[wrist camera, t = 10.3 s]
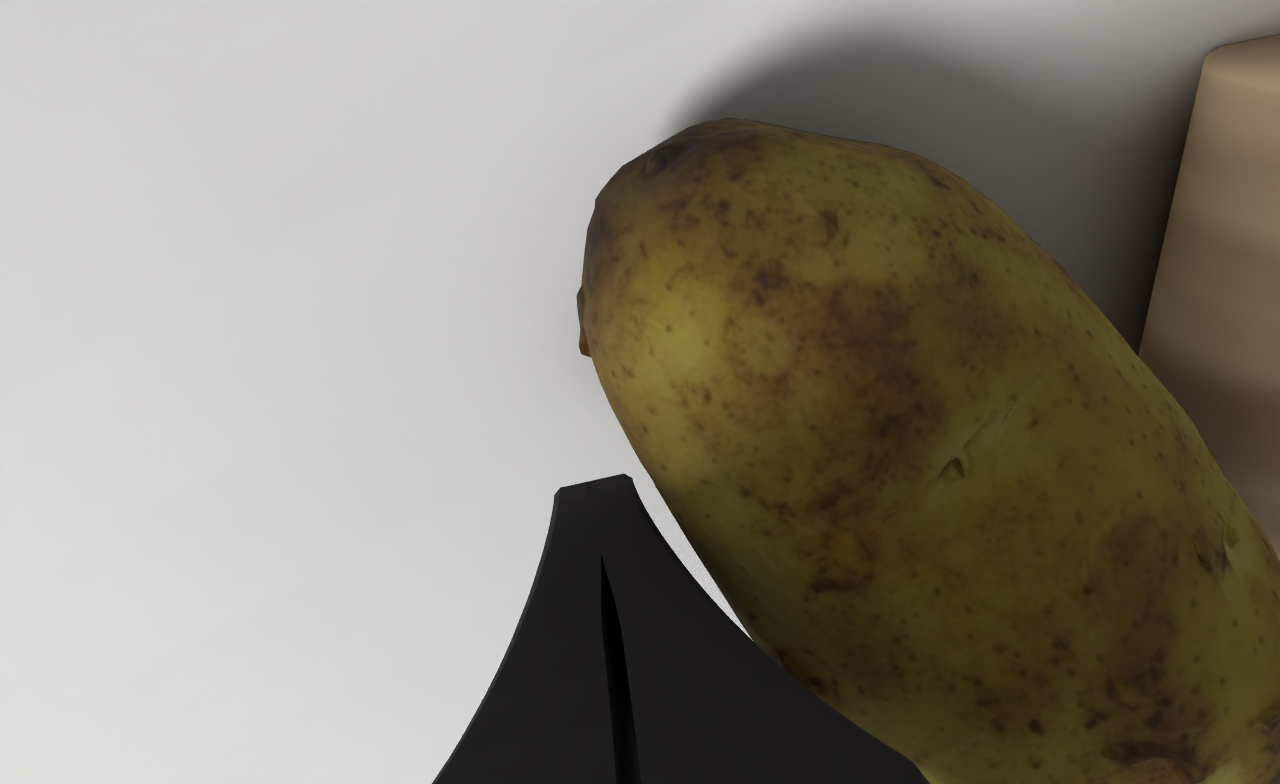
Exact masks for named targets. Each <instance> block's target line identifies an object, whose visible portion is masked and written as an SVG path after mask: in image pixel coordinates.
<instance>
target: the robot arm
mask: <svg viewBox="0 0 1280 784" xmlns="http://www.w3.org/2000/svg"><path fill="white" fill-rule="evenodd" d="M432 784H930V783H929V781H928V780H927V779H926V778H925V776H924V775H923V774H922V772H921V771H920V770H919V769H918V767H917V766H916V765H915V764H914V763H913V761H911V760H910V759H908V758H907V757H905V756H904V755H902V754H901V753H899V752H897V751H896V750H894V749H893V748H891V747H890V746H888V745H886V744H885V743H883V742H882V741H880V740H879V739H877V738H876V737H874V736H873V735H871V734H870V733H868V732H867V731H865V730H864V729H862V728H861V727H859V726H858V725H856V724H855V723H853V722H852V721H851V720H849V719H848V718H847V717H845V716H844V715H842V714H841V713H840V712H838V711H837V710H836V709H834V708H833V707H832V706H830V705H829V704H827V703H826V702H825V701H823V700H822V699H821V698H819V697H818V696H817V695H816V694H814V693H813V692H812V691H811V690H810V689H808V688H807V687H806V686H805V685H803V684H802V683H801V682H800V681H799V680H797V679H796V678H795V677H794V676H792V675H791V674H790V673H789V672H788V671H786V670H785V669H784V668H783V667H781V666H780V665H779V664H778V663H777V662H775V661H774V660H773V659H772V658H771V657H770V656H769V655H768V654H766V653H765V652H764V651H763V650H762V649H761V648H760V647H759V646H758V645H757V644H756V643H755V642H753V641H752V640H751V639H750V638H749V637H748V636H747V635H746V634H745V633H744V632H743V631H742V630H741V629H740V628H739V627H738V626H737V625H736V624H735V623H734V622H733V621H732V620H731V619H730V618H729V617H728V616H727V615H726V614H725V613H724V612H723V610H722V609H721V608H720V607H719V606H718V605H717V604H716V603H715V602H714V601H713V599H712V598H711V597H710V596H709V595H708V594H707V593H706V591H705V590H704V589H703V588H702V587H701V586H700V584H699V583H698V582H697V581H696V580H695V579H694V577H693V576H692V575H691V574H690V572H689V571H688V570H687V569H686V567H685V566H684V565H683V563H682V562H681V561H680V559H679V558H678V557H677V555H676V554H675V553H674V551H673V550H672V548H671V547H670V546H669V544H668V543H667V542H666V540H665V539H664V537H663V536H662V534H661V533H660V531H659V530H658V528H657V527H656V525H655V524H654V522H653V520H652V519H651V517H650V515H649V514H648V512H647V510H646V509H645V507H644V505H643V503H642V501H641V499H640V497H639V495H638V493H637V490H636V488H635V486H634V483H633V479H632V478H631V477H629V476H627V475H626V474H620V475H616V476H611V477H607V478H602V479H598V480H593V481H589V482H584V483H580V484H575V485H571V486H566V487H562V488H560V489H559V490H558V491H557V492H556V494H555V495H554V505H553V511H552V516H551V521H550V526H549V530H548V534H547V538H546V542H545V546H544V550H543V553H542V557H541V560H540V563H539V566H538V569H537V572H536V576H535V579H534V582H533V585H532V588H531V591H530V594H529V597H528V599H527V602H526V605H525V607H524V610H523V612H522V615H521V617H520V620H519V622H518V625H517V627H516V630H515V633H514V635H513V638H512V640H511V642H510V645H509V647H508V649H507V651H506V654H505V656H504V658H503V660H502V662H501V664H500V667H499V669H498V671H497V673H496V675H495V677H494V679H493V681H492V683H491V685H490V687H489V689H488V691H487V693H486V695H485V697H484V698H483V700H482V702H481V704H480V706H479V707H478V709H477V711H476V713H475V715H474V716H473V718H472V720H471V722H470V724H469V725H468V727H467V729H466V731H465V733H464V734H463V736H462V738H461V739H460V741H459V743H458V744H457V746H456V748H455V749H454V751H453V752H452V754H451V756H450V757H449V759H448V760H447V762H446V763H445V765H444V766H443V768H442V769H441V771H440V772H439V774H438V775H437V777H436V778H435V780H434V781H433V783H432Z"/></svg>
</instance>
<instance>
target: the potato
mask: <svg viewBox="0 0 1280 784" xmlns="http://www.w3.org/2000/svg"><path fill="white" fill-rule="evenodd" d="M577 307H578V315H579V323H580V328H581V330H580V341H579V348H580V351H581V354H582V355H585V356H588V357H592V360H593V363H594V366H595V368H596V371H597V374H598V377H599V380H600V383H601V385H602V387H603V389H604V392H605V394H606V396H607V398H608V401H609V403H610V405H611V407H612V409H613V411H614V413H615V415H616V417H617V419H618V421H619V423H620V425H621V426H622V428H623V430H624V432H625V434H626V436H627V438H628V440H629V442H630V444H631V446H632V448H633V449H634V451H635V453H636V455H637V456H638V458H639V460H640V462H641V463H642V465H643V466H644V468H645V469H646V471H647V472H648V474H649V475H650V477H651V478H652V480H653V482H654V484H655V486H656V488H657V489H658V491H659V493H660V494H661V496H662V498H663V499H664V501H665V503H666V504H667V506H668V508H669V509H670V511H671V513H672V514H673V516H674V518H675V519H676V521H677V523H678V524H679V526H680V528H681V529H682V531H683V533H684V534H685V536H686V538H687V539H688V541H689V543H690V544H691V546H692V547H693V549H694V551H695V552H696V554H697V555H698V557H699V558H700V560H701V561H702V563H703V565H704V566H705V568H706V569H707V571H708V572H709V574H710V575H711V577H712V578H713V580H714V581H715V583H716V585H717V586H718V588H719V589H720V591H721V592H722V594H723V596H724V597H725V599H726V600H727V602H728V603H729V605H730V607H731V608H732V610H733V611H734V613H735V614H736V616H737V618H738V619H739V621H740V622H741V624H742V625H743V627H744V628H745V630H746V631H747V633H748V634H749V635H750V637H751V638H752V640H753V641H754V642H755V643H756V644H757V645H758V646H759V647H760V648H761V649H762V650H763V651H764V652H765V653H766V654H768V655H769V656H770V657H771V658H772V659H773V660H774V661H775V662H777V663H778V664H779V665H780V666H781V667H783V668H784V669H785V670H786V671H788V672H789V673H790V674H791V675H792V676H794V677H795V678H796V679H797V680H799V681H800V682H801V683H802V684H803V685H805V686H806V687H807V688H808V689H810V690H811V691H812V692H813V693H814V694H816V695H817V696H818V697H819V698H821V699H822V700H823V701H825V702H826V703H827V704H829V705H830V706H832V707H833V708H834V709H836V710H837V711H838V712H840V713H841V714H842V715H844V716H845V717H847V718H848V719H849V720H851V721H852V722H853V723H855V724H856V725H858V726H859V727H861V728H862V729H864V730H865V731H867V732H868V733H870V734H871V735H873V736H874V737H876V738H877V739H879V740H880V741H882V742H883V743H885V744H886V745H888V746H890V747H891V748H893V749H894V750H896V751H897V752H899V753H901V754H902V755H904V756H905V757H907V758H908V759H910V760H911V761H913V763H914V764H915V765H916V766H917V767H918V769H919V770H920V771H921V772H922V774H923V775H924V776H925V778H926V779H927V780H928V781H929V783H930V784H1280V561H1279V558H1278V556H1277V554H1276V552H1275V550H1274V548H1273V546H1272V544H1271V542H1270V540H1269V539H1268V537H1267V535H1266V534H1265V532H1264V531H1263V529H1262V527H1261V526H1260V524H1259V523H1258V521H1257V520H1256V518H1255V517H1254V516H1253V515H1252V513H1251V512H1250V511H1249V509H1248V508H1247V507H1246V505H1245V504H1244V502H1243V501H1242V499H1241V498H1240V497H1239V495H1238V494H1237V492H1236V491H1235V489H1234V488H1233V487H1232V485H1231V484H1230V483H1229V482H1228V480H1227V479H1226V478H1225V477H1224V475H1223V473H1222V471H1221V470H1220V468H1219V466H1218V464H1217V463H1216V461H1215V460H1214V458H1213V457H1212V455H1211V454H1210V452H1209V450H1208V449H1207V447H1206V445H1205V443H1204V441H1203V439H1202V438H1201V436H1200V434H1199V432H1198V430H1197V428H1196V426H1195V424H1194V422H1193V420H1192V419H1191V417H1190V416H1189V414H1188V412H1187V411H1186V409H1185V408H1184V407H1182V406H1181V405H1180V404H1179V403H1178V402H1177V401H1176V400H1175V399H1174V397H1173V396H1172V395H1171V394H1170V393H1169V392H1168V390H1167V389H1166V388H1165V387H1164V386H1163V385H1162V383H1161V382H1160V381H1159V380H1158V379H1157V377H1156V376H1155V375H1154V374H1153V373H1152V371H1151V370H1150V369H1149V368H1148V366H1147V365H1146V364H1145V363H1144V362H1143V361H1142V360H1141V359H1140V358H1139V357H1138V356H1137V355H1136V353H1135V352H1134V351H1133V350H1132V348H1131V347H1130V346H1129V345H1128V343H1127V342H1126V341H1125V340H1124V338H1123V337H1122V336H1121V335H1120V333H1119V332H1118V331H1117V329H1116V328H1115V327H1114V326H1113V325H1112V324H1111V322H1110V321H1109V320H1108V319H1107V318H1106V317H1105V315H1104V314H1103V313H1102V312H1101V311H1100V309H1099V308H1098V307H1097V306H1096V305H1095V304H1094V302H1093V301H1092V300H1091V299H1090V298H1089V296H1088V295H1087V294H1086V293H1085V292H1084V290H1083V289H1082V288H1081V287H1080V286H1079V285H1078V284H1077V283H1076V282H1075V281H1074V280H1073V278H1072V277H1071V276H1070V275H1069V274H1068V273H1067V272H1066V271H1065V270H1064V269H1063V267H1062V266H1061V265H1060V264H1059V263H1058V262H1056V261H1055V260H1054V259H1053V258H1052V257H1051V256H1050V255H1048V254H1047V253H1046V252H1045V251H1044V250H1043V249H1042V248H1041V247H1040V246H1039V245H1038V244H1037V243H1036V242H1035V241H1034V240H1032V239H1031V238H1030V237H1029V236H1028V235H1027V234H1026V233H1025V232H1024V231H1023V230H1022V229H1021V228H1020V227H1019V226H1018V225H1017V224H1016V223H1015V222H1014V221H1013V220H1012V219H1011V218H1010V217H1009V216H1008V215H1007V214H1006V213H1005V212H1004V211H1003V210H1001V209H1000V208H999V207H998V206H996V205H995V204H994V203H992V202H991V201H990V200H989V199H987V198H986V197H985V196H984V195H982V194H981V193H980V192H978V191H977V190H976V189H975V188H973V187H972V186H971V185H969V184H968V183H967V182H966V181H964V180H963V179H961V178H960V177H958V176H956V175H955V174H953V173H951V172H950V171H948V170H946V169H945V168H943V167H941V166H940V165H938V164H936V163H934V162H932V161H930V160H928V159H926V158H924V157H922V156H919V155H916V154H912V153H909V152H906V151H902V150H899V149H896V148H892V147H889V146H886V145H882V144H876V143H870V142H863V141H857V140H850V139H843V138H837V137H831V136H826V135H820V134H815V133H809V132H805V131H800V130H796V129H791V128H787V127H782V126H778V125H773V124H768V123H763V122H759V121H750V120H742V119H733V118H726V119H721V120H716V121H711V122H706V123H701V124H697V125H694V126H691V127H688V128H687V129H685V130H683V131H681V132H679V133H677V134H676V135H674V136H672V137H670V138H669V139H667V140H665V141H663V142H662V143H660V144H658V145H657V146H655V147H653V148H652V149H650V150H648V151H647V152H645V153H643V154H642V155H640V156H638V157H637V158H635V159H633V160H632V161H630V162H628V163H627V164H625V165H623V166H622V167H621V168H620V169H619V170H618V171H617V172H616V174H615V175H614V176H613V177H612V178H611V179H610V180H609V181H608V183H607V184H606V185H605V186H604V188H603V189H602V190H601V191H600V193H599V194H598V196H597V198H596V200H595V209H594V212H593V215H592V217H591V220H590V223H589V226H588V229H587V237H586V245H585V253H584V264H583V274H582V285H581V288H580V290H579V292H578V294H577Z"/></svg>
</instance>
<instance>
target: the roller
mask: <svg viewBox="0 0 1280 784" xmlns="http://www.w3.org/2000/svg"><path fill="white" fill-rule="evenodd" d="M1138 357H1139V358H1140V359H1141V360H1142V361H1143V362H1144V363H1145V364H1146V365H1147V366H1148V368H1149V369H1150V370H1151V371H1152V373H1153V374H1154V375H1155V376H1156V377H1157V379H1158V380H1159V381H1160V382H1161V383H1162V385H1163V386H1164V387H1165V388H1166V389H1167V390H1168V392H1169V393H1170V394H1171V395H1172V396H1173V397H1174V399H1175V400H1176V401H1177V402H1178V403H1179V404H1180V405H1181V406H1182V407H1184V408H1185V409H1186V411H1187V412H1188V414H1189V416H1190V417H1191V419H1192V420H1193V422H1194V424H1195V426H1196V428H1197V430H1198V432H1199V434H1200V436H1201V438H1202V439H1203V441H1204V443H1205V445H1206V447H1207V449H1208V450H1209V452H1210V454H1211V455H1212V457H1213V458H1214V460H1215V461H1216V463H1217V464H1218V466H1219V468H1220V470H1221V471H1222V473H1223V475H1224V477H1225V478H1226V479H1227V480H1228V482H1229V483H1230V484H1231V485H1232V487H1233V488H1234V489H1235V491H1236V492H1237V494H1238V495H1239V497H1240V498H1241V499H1242V501H1243V502H1244V504H1245V505H1246V507H1247V508H1248V509H1249V511H1250V512H1251V513H1252V515H1253V516H1254V517H1255V518H1256V520H1257V521H1258V523H1259V524H1260V526H1261V527H1262V529H1263V531H1264V532H1265V534H1266V535H1267V537H1268V539H1269V540H1270V542H1271V544H1272V546H1273V548H1274V550H1275V552H1276V554H1277V556H1278V558H1279V561H1280V34H1277V35H1272V36H1267V37H1262V38H1257V39H1252V40H1247V41H1242V42H1237V43H1232V44H1227V45H1224V46H1221V47H1219V48H1217V49H1215V50H1213V51H1212V52H1210V53H1209V54H1208V55H1207V56H1206V57H1205V59H1204V62H1203V66H1202V71H1201V75H1200V80H1199V84H1198V89H1197V93H1196V98H1195V102H1194V107H1193V111H1192V116H1191V120H1190V125H1189V129H1188V134H1187V138H1186V143H1185V147H1184V152H1183V156H1182V161H1181V165H1180V170H1179V174H1178V179H1177V183H1176V188H1175V192H1174V197H1173V201H1172V206H1171V210H1170V215H1169V219H1168V224H1167V228H1166V233H1165V237H1164V242H1163V246H1162V251H1161V255H1160V260H1159V264H1158V269H1157V273H1156V278H1155V282H1154V287H1153V291H1152V296H1151V300H1150V305H1149V309H1148V314H1147V318H1146V323H1145V327H1144V332H1143V336H1142V341H1141V345H1140V350H1139V354H1138Z"/></svg>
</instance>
